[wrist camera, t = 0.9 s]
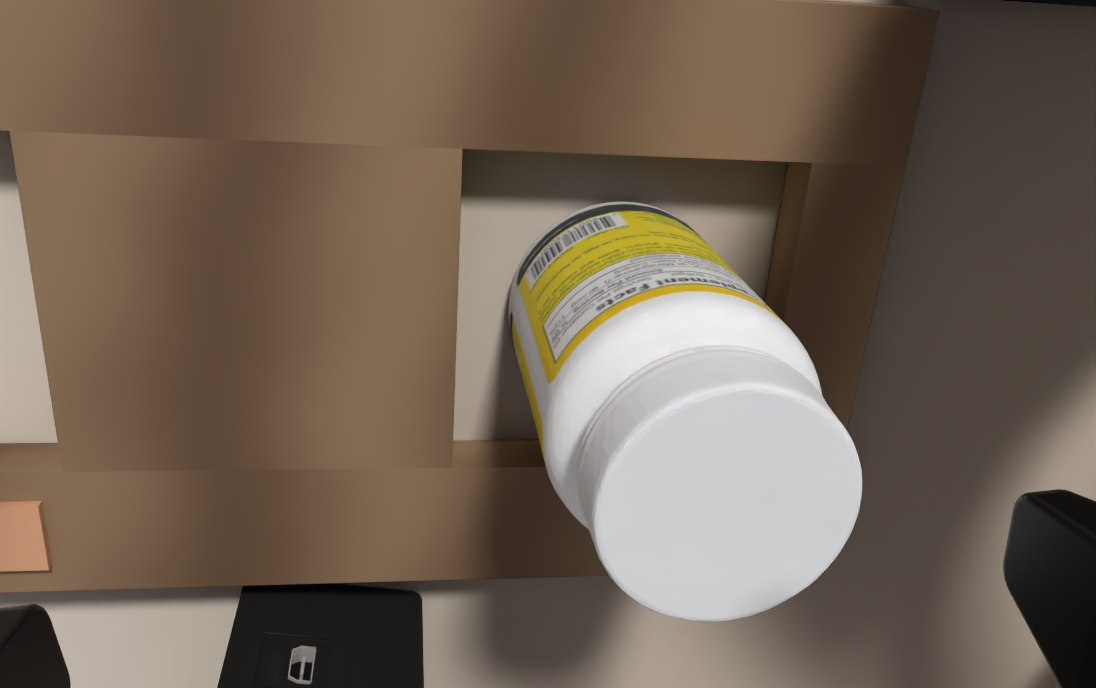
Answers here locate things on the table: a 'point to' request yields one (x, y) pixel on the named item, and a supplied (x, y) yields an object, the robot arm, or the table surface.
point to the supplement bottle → (679, 416)
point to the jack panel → (375, 257)
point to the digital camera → (325, 638)
